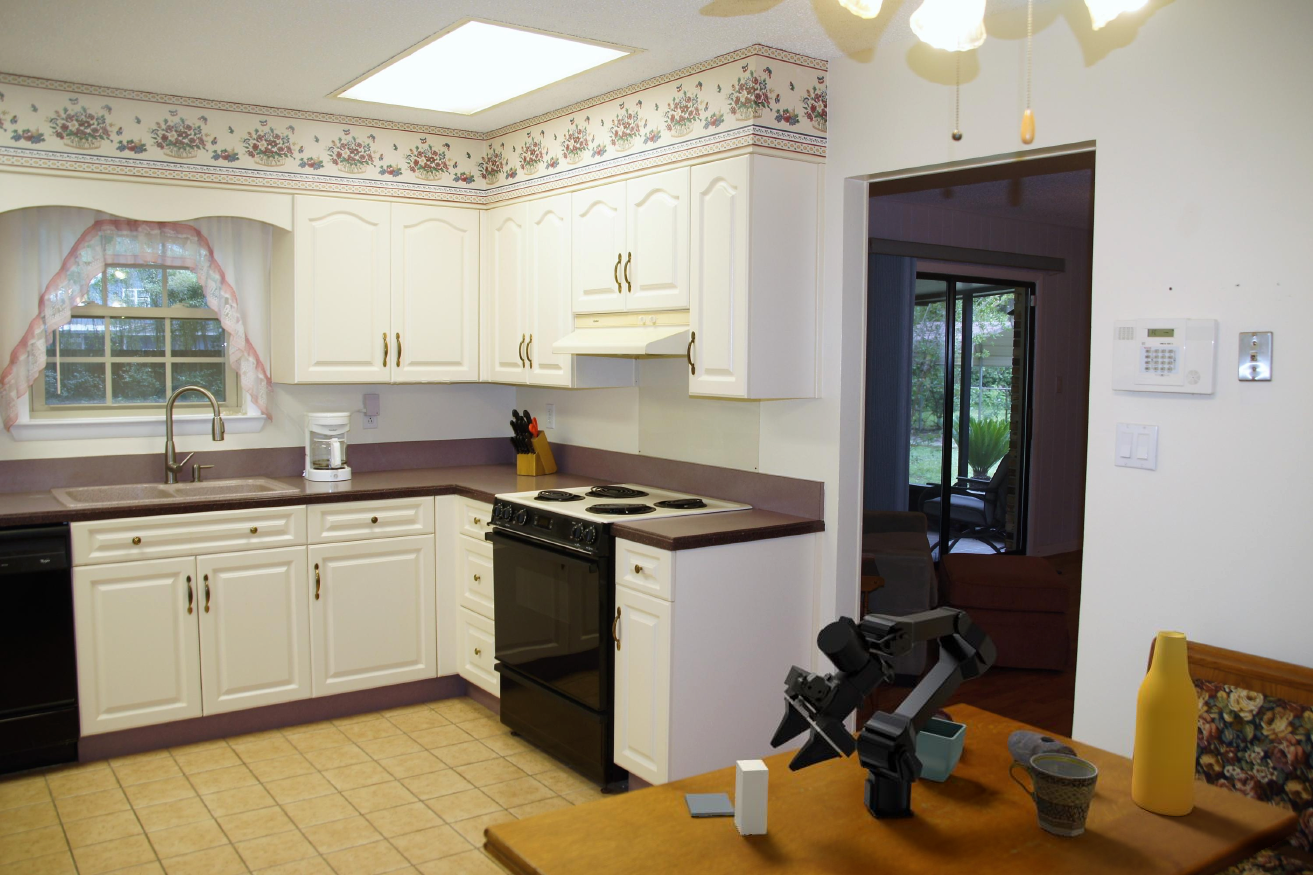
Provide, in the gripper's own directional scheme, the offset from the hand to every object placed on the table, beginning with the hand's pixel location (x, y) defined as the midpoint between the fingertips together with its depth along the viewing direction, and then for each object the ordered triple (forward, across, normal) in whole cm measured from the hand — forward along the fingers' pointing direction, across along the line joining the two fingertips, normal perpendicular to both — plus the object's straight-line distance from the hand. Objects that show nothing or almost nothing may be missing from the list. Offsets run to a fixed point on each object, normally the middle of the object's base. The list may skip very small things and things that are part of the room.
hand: (780, 757), depth 152 cm
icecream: (-21, -31, +37) cm, 53 cm away
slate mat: (+14, -9, +2) cm, 17 cm away
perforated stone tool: (-30, -16, +46) cm, 57 cm away
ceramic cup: (-23, +5, +39) cm, 45 cm away
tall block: (+11, 0, +5) cm, 12 cm away
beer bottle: (-39, 0, +55) cm, 68 cm away
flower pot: (-16, -16, +32) cm, 39 cm away
